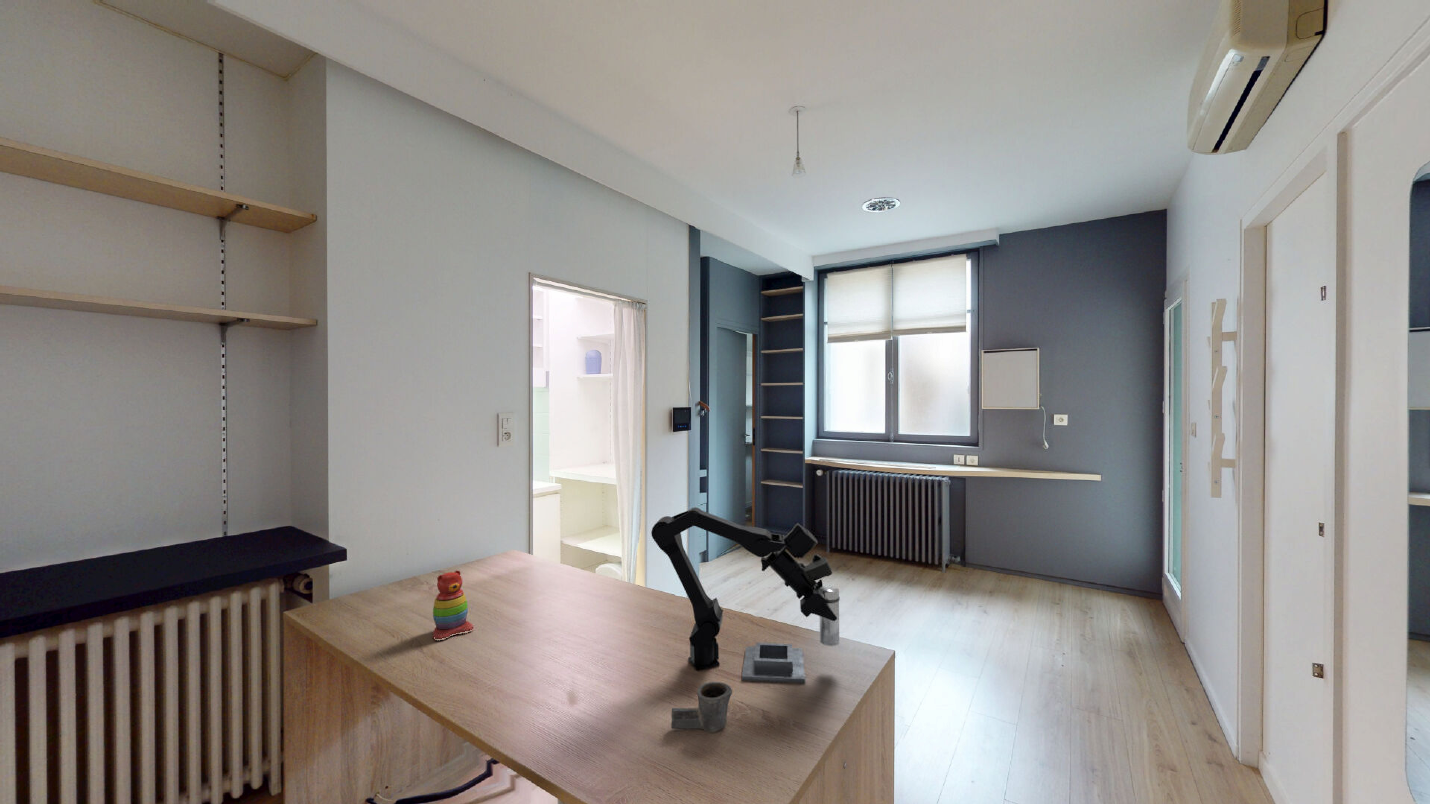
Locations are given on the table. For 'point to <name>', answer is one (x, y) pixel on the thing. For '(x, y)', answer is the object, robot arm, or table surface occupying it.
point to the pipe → (705, 709)
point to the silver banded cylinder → (828, 627)
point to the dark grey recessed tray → (774, 663)
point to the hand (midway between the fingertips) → (834, 615)
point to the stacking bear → (450, 606)
